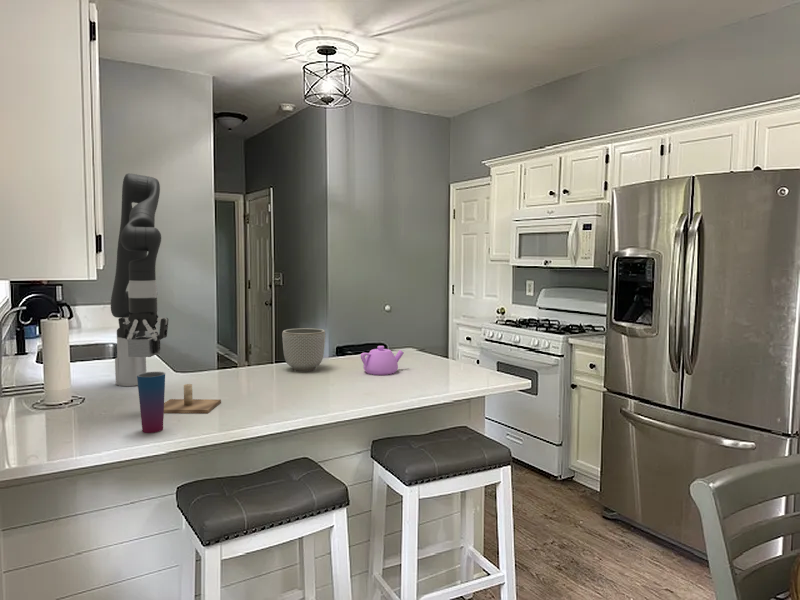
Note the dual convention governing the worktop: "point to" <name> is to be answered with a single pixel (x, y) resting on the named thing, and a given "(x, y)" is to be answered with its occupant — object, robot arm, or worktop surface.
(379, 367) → the teapot
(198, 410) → the post board
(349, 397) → the worktop surface
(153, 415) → the cup
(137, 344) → the collar
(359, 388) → the worktop surface
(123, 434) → the worktop surface
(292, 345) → the planter
